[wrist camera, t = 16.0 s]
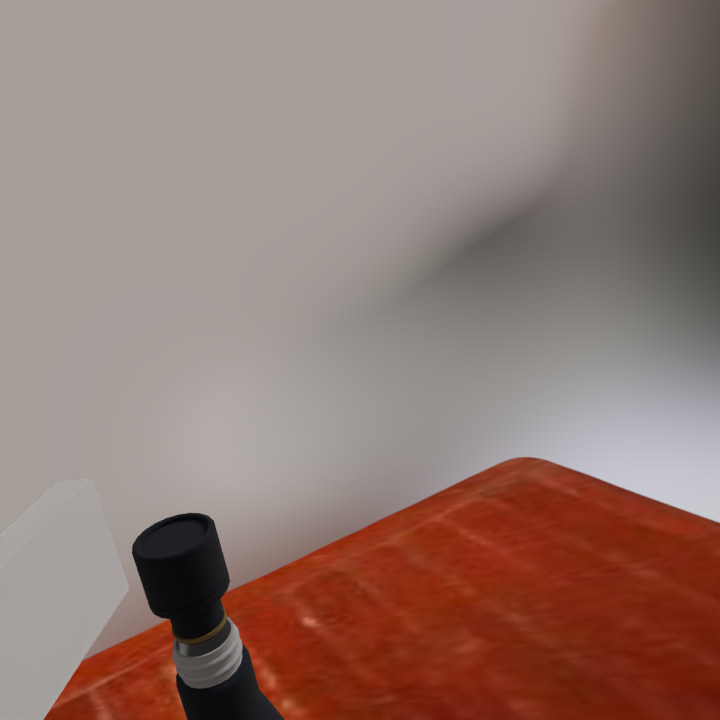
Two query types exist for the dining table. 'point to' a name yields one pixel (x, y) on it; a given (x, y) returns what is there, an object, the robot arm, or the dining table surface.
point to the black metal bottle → (199, 619)
